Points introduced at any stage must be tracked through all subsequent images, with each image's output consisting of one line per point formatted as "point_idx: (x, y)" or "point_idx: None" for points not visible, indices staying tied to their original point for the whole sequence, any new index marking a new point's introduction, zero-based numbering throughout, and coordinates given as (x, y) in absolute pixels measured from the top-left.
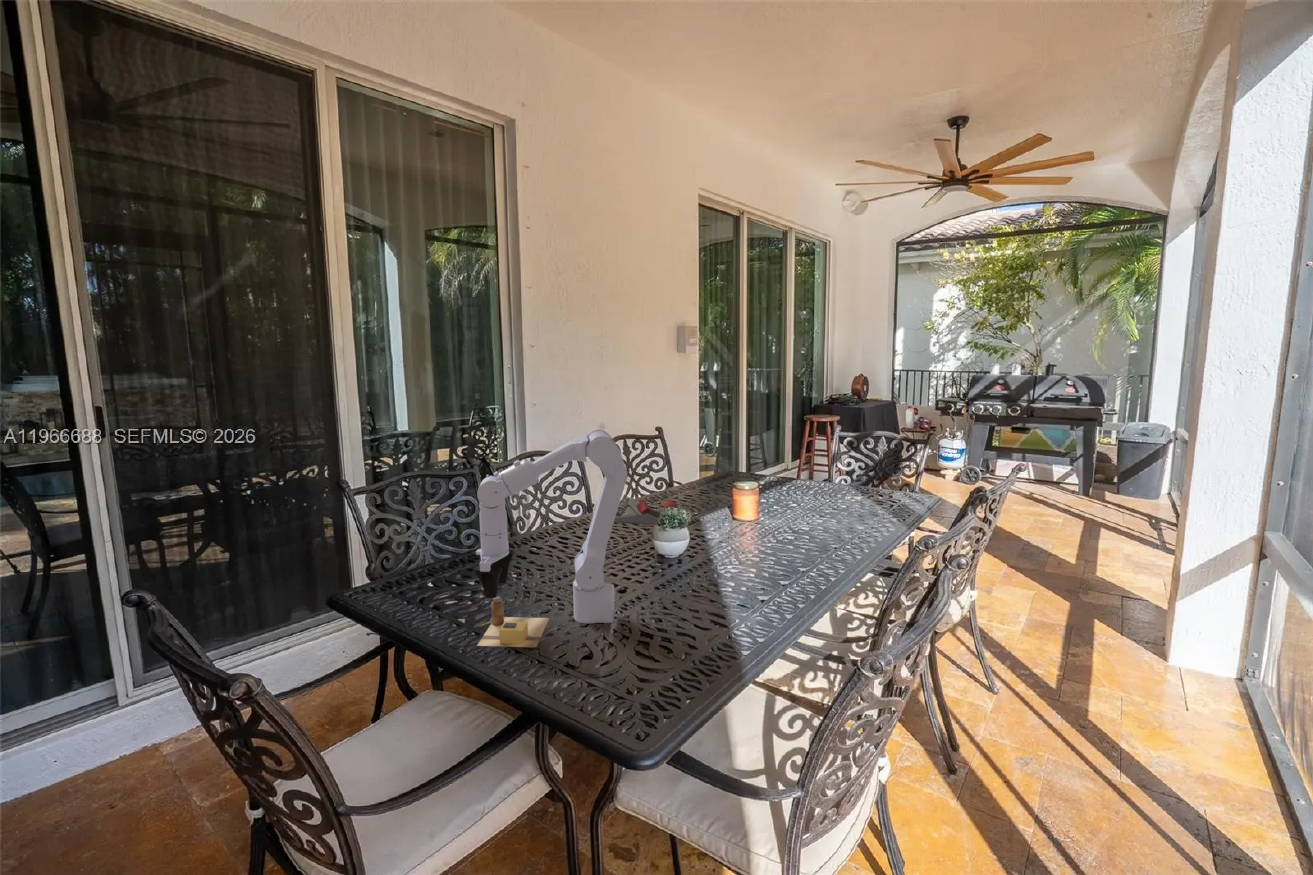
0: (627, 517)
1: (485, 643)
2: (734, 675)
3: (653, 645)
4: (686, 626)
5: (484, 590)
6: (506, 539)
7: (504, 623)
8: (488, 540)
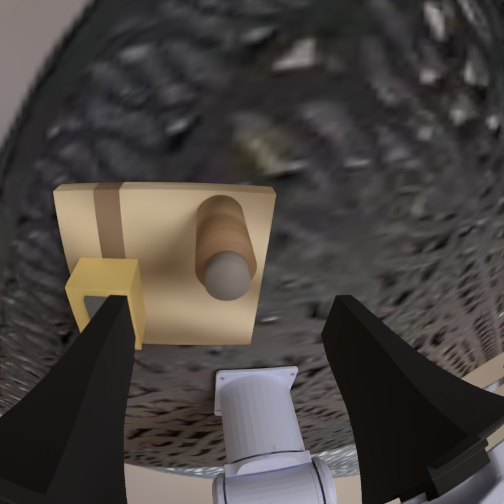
0: None
1: (70, 214)
2: (125, 462)
3: (169, 438)
4: None
5: (86, 330)
6: None
7: (112, 293)
8: None
